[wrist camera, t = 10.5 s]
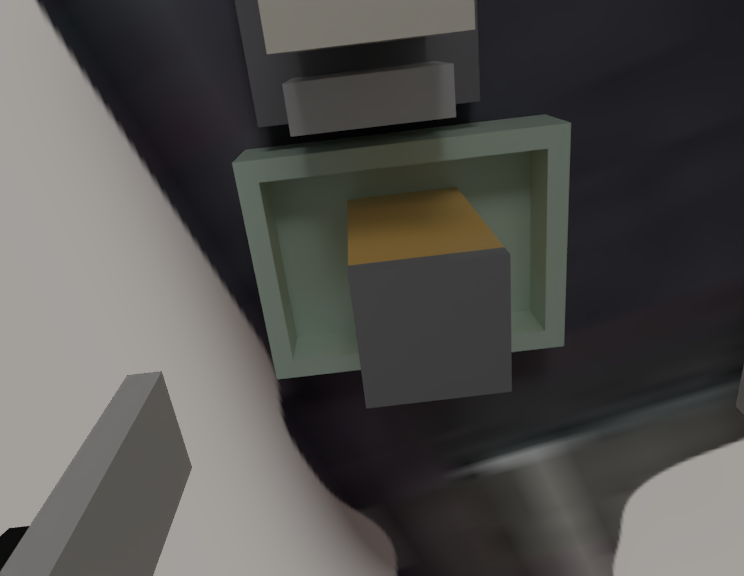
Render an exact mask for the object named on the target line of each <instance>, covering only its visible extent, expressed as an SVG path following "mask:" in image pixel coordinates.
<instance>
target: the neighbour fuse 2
mask: <svg viewBox="0 0 744 576" xmlns="http://www.w3.org/2000/svg"><path fill="white" fill-rule="evenodd" d="M258 5H259V11H260V17H261V23H262V29H263V35H264V40H265V46H266V52H267V54H279V53H294V52H304V51H312V50H321V49H329V48H338V47H346V46H354V45H363V44H371V43H380V42H388V41H396V40H405V39H413V38H421V37H429V36H436V35H442V34H449V33H455V32H462V31H469V30H475V6H474V0H258Z"/></svg>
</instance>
